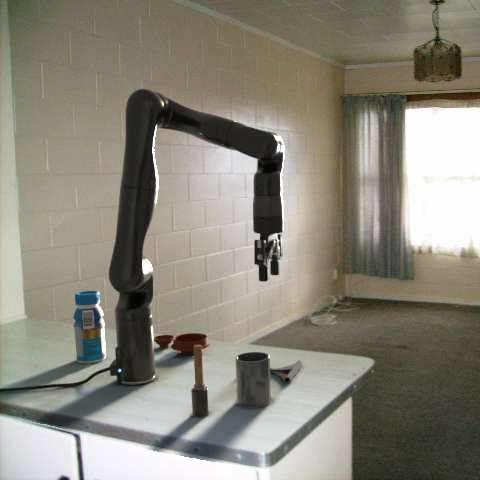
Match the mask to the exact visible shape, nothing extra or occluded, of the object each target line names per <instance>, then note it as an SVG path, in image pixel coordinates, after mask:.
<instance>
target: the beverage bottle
mask: <svg viewBox="0 0 480 480" xmlns="http://www.w3.org/2000/svg"><path fill="white" fill-rule="evenodd" d="M74 303H75V306H77V307H76V309H75V311H74V314H73V320H74V323H73V329H74V339H75V352H76V361H77V363H79V364H95V363H99V362H101V361H102V362H103V361H104V360H105V359H106V358H107V351H106V350H107V349H106V334H105V326H106V324H105V320H104V316H105V315H104V314H105V313H104V310H103V309H102V308H101V306H100V305H99V304H100V303H101V296H100V292H99V291H97V290H84V291H79V292H76V293H75V294H74Z"/></svg>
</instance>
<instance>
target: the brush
mask: <svg viewBox="0 0 480 480" xmlns="http://www.w3.org/2000/svg"><path fill="white" fill-rule="evenodd" d="M193 347H194V354H193V365H194V384H193V387H192V388H191V390H190V391H191V410H192V412H191V413H192V416H193V417H194V418H204V417H207V416H209V414H210V413H209V409H210V408H209V391H208V390H209V389H208V387H207V386H206V384H205V383H204V368H203V366H204V365H203V349H202V345H194V346H193Z"/></svg>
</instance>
